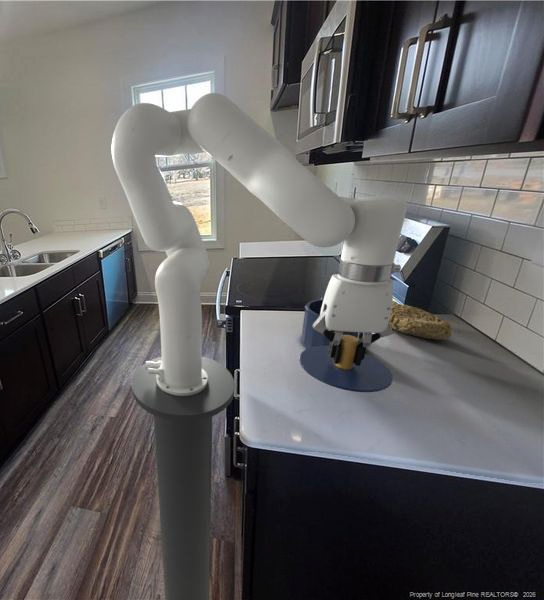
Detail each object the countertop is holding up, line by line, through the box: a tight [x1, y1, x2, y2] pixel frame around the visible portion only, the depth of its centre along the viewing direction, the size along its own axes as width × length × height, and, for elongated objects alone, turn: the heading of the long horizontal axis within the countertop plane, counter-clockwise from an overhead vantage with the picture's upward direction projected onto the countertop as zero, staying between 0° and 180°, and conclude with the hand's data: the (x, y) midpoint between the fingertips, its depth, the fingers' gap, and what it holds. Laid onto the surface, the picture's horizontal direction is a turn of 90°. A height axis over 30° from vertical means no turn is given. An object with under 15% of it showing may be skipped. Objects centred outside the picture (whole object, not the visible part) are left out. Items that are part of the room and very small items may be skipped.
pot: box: [300, 297, 358, 350], centre depth 83 cm, size 15×20×10 cm
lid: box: [299, 335, 394, 393], centre depth 61 cm, size 16×16×7 cm
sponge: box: [389, 300, 452, 341], centre depth 89 cm, size 13×8×20 cm
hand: (344, 360), depth 62 cm, fingers closed on lid, 3 cm apart
